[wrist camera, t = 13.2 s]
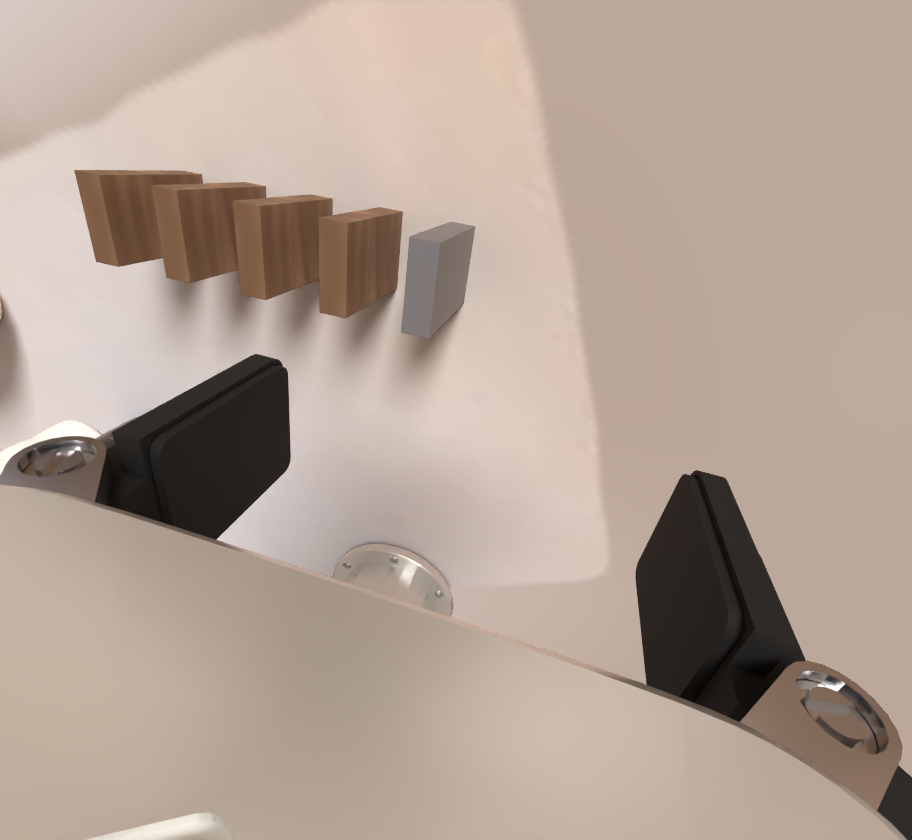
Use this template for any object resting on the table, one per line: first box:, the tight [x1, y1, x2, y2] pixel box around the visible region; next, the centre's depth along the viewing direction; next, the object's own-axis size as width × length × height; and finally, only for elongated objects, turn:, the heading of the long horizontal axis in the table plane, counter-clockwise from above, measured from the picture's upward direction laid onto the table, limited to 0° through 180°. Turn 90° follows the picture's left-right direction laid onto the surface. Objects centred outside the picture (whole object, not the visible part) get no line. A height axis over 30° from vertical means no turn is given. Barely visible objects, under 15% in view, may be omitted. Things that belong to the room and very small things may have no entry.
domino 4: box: [319, 207, 403, 318], centre depth 28 cm, size 2×5×8 cm, turn 172°
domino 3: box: [233, 195, 332, 300], centre depth 29 cm, size 2×5×8 cm, turn 172°
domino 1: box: [74, 170, 203, 267], centre depth 31 cm, size 2×5×8 cm, turn 172°
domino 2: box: [151, 182, 266, 283], centre depth 30 cm, size 2×5×8 cm, turn 172°
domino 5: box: [402, 222, 475, 339], centre depth 28 cm, size 2×5×8 cm, turn 172°
